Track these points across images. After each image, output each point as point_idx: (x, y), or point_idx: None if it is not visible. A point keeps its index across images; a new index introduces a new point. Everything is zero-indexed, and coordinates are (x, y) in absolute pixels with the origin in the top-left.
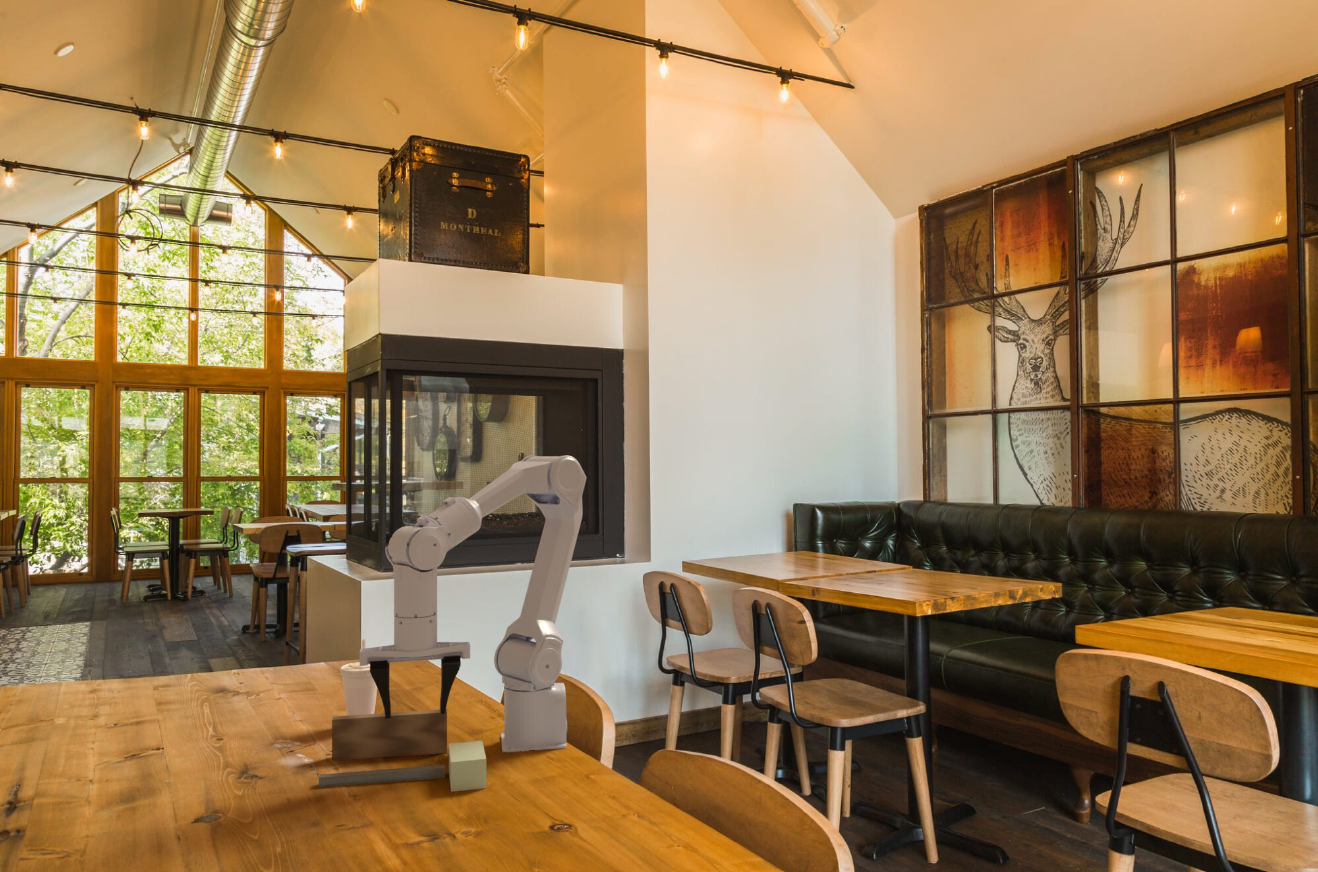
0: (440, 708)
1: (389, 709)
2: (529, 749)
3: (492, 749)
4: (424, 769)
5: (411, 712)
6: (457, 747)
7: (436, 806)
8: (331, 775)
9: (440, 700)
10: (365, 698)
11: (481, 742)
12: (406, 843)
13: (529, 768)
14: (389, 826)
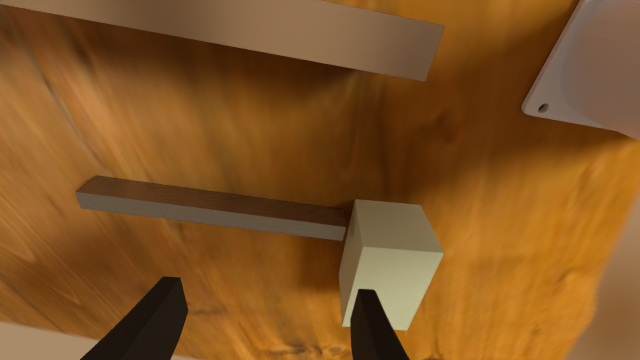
0: (353, 328)
1: (172, 348)
2: (584, 124)
3: (511, 70)
4: (302, 235)
5: (268, 14)
6: (375, 272)
7: (312, 294)
8: (105, 205)
9: (362, 332)
10: None
11: (436, 262)
12: (269, 351)
13: (508, 218)
14: (248, 320)
